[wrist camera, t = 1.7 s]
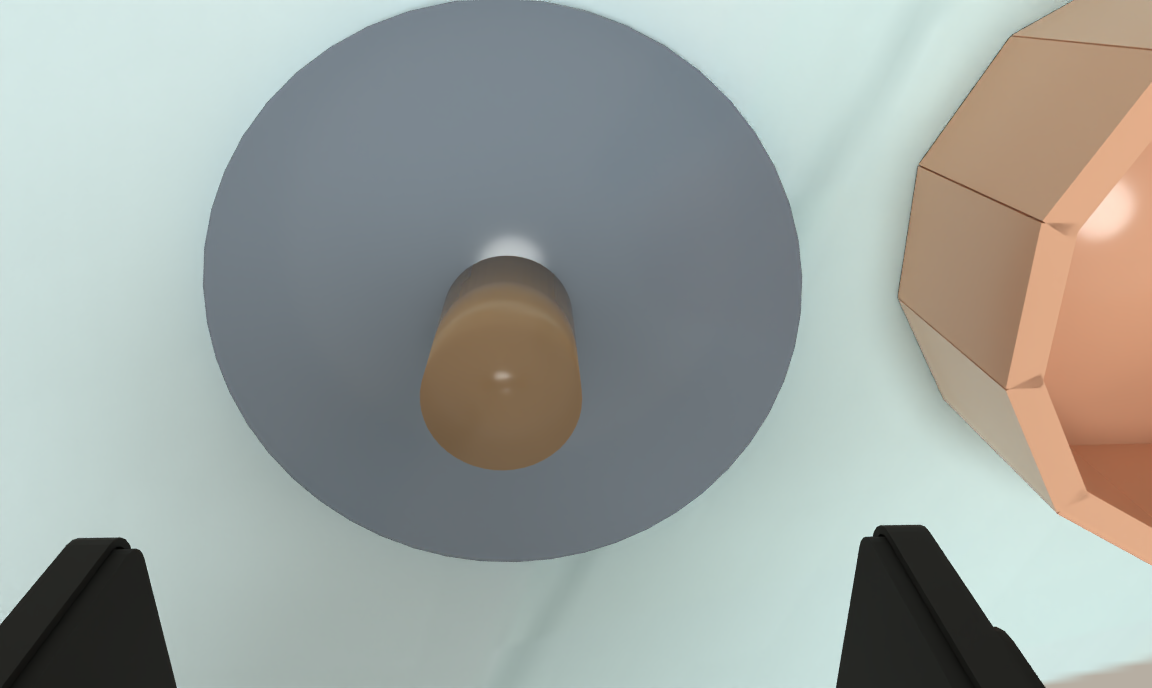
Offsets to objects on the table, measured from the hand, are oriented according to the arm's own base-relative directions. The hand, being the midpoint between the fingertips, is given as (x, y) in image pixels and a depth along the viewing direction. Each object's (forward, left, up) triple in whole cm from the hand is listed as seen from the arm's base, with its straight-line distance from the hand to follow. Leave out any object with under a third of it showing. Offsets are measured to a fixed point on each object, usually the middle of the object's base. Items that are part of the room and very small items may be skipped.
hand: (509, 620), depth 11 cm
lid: (-1, 0, -14) cm, 14 cm away
